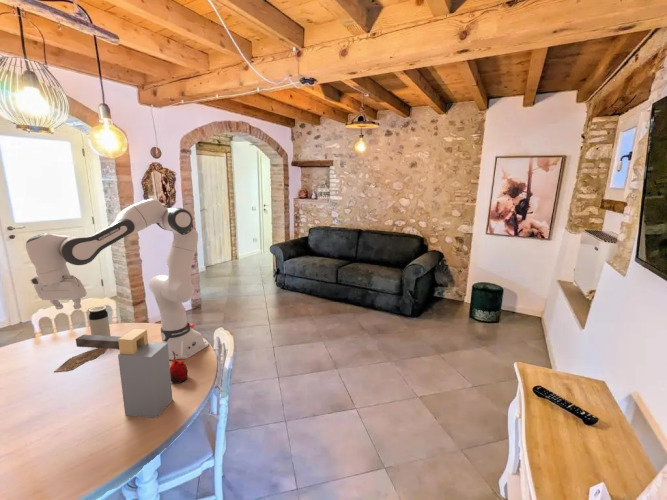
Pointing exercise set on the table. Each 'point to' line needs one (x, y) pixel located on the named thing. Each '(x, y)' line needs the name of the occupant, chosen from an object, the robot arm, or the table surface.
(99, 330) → the travel mug
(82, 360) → the wooden fragment
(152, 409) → the post
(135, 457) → the table surface
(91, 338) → the block
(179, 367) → the red clay folk toy
